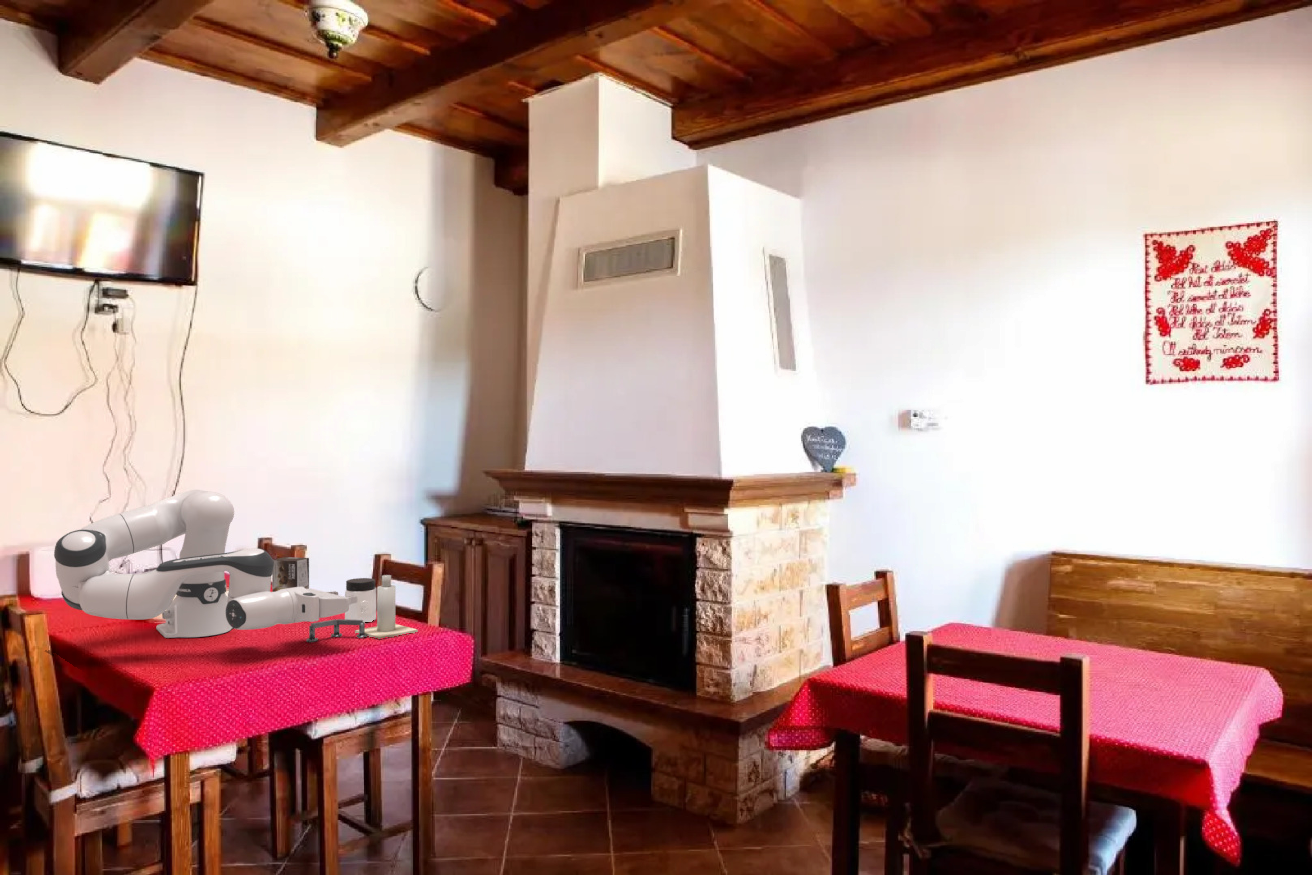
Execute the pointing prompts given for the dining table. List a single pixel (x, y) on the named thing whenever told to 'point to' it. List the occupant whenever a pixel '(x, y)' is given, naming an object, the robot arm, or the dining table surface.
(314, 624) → the grey angled rail stand
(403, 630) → the birch board
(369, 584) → the jar
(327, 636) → the dining table surface
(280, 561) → the coffee box
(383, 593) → the stoneware bottle
